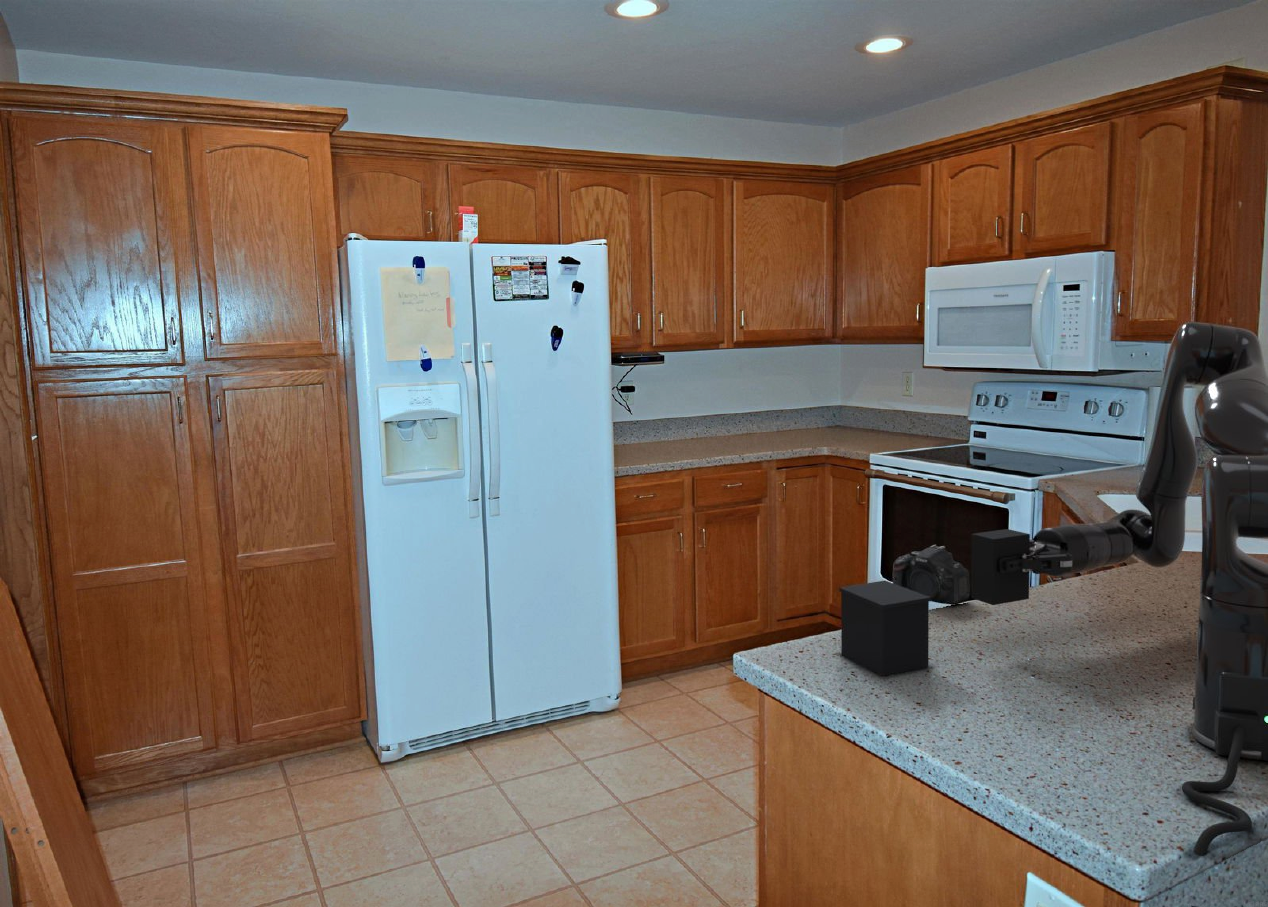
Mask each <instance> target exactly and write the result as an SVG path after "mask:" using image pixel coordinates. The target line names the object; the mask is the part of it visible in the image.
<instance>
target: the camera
mask: <svg viewBox="0 0 1268 907" xmlns="http://www.w3.org/2000/svg"><path fill="white" fill-rule="evenodd" d="M892 583H893V584H896V585H899V586H901V587H904V588H907V589H910V590H912V591H915V592H918V593H920V594H923V595H926V596H929V597H931V601H930V602H933V603H936V604H941V605H942V604H943V605H952V606H953V605H957V604H959V603H961V602H965V601H966V600H968V599H969V598H970V593H971V589H970V588H971V587H970V571H969V570H968V569H967V568H965V567H964V566H963V564H962V563H960V562H958V561H956V560H954V558H953V553H952V552H948V551H947V549H946V546H945V545H942V546H937V544H933V545H931V546H928V547H927V548H925V549H923V550H921V551H910V552H909V553H907V554H904V555H902V556H899V557H898V558H896V559H895V561H894V562H893V564H892Z"/></svg>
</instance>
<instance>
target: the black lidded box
mask: <svg viewBox="0 0 1268 907" xmlns="http://www.w3.org/2000/svg"><path fill="white" fill-rule="evenodd" d="M838 591H839V592H840V598H841V599H840V609H841V610H840V613H841V614H840V615H841V617H840V619H841V620H840V621H841V625H840V626H841V628H840V629H841V630H840V631H841V642H840V643H841V644H840V646H841V648H840V649H841V655H842V656H844V657H846V658H848V659H850V660H851V661H854V662H855V663H857V664H859V665H861V666H863V667H865V668H866V669H868V670H871V671H872V672H874V673H877V674H878V675H880V676H882V677H885V676H890V675H895V674H900V673H906V672H909V671H914V670H915V671H916V670H919V669H925V668H928V667H929V628H930V627H929V625H930V624H929V621H930V620H929V618H930V616H929V615H930V614H929V613H930V612H929V611H930V610H929V609H930V602H931V597H929V596H926V595H923V594H920V593H918V592H915V591H912V590H910V589H907V588H904V587H901V586H899V585H896V584H893V582H890V581H888V580H878V581H871V582H866V583H860V584H853V585H847V586H841V587H839V588H838Z"/></svg>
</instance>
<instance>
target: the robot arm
mask: <svg viewBox="0 0 1268 907" xmlns="http://www.w3.org/2000/svg"><path fill="white" fill-rule="evenodd" d="M1263 355H1264V354H1263V349H1262V344H1261V343H1260V340H1259V337H1258V336H1257V335H1256V333H1255V332H1253V331H1251V330H1249V329H1246V328H1241V327H1235V326H1230V325H1221V324H1215V323H1208V322H1201V321H1186V322H1184V323H1182V324H1181V325H1180V326H1179V327H1178V328H1177V330H1176V332H1175V333H1174V335H1173V338H1172V340H1171V343H1170V346H1169V348H1168V352H1167V355H1166V356H1167V357H1166V360H1165V365H1164V369H1163V373H1162V374H1163V375H1162V379H1161V385H1160V390H1159V394H1158V400H1157V404H1156V410H1155V417H1154V423H1153V429H1152V434H1151V439H1150V445H1149V448H1148V452H1147V454H1146V455H1147V456H1146V459H1145V462H1144V465H1143V468H1142V471H1141V473H1140V477H1139V480H1138V483H1137V486H1136V490H1135V496H1136V499H1137V500H1138V502H1139V503H1140V504H1141V506H1143V507H1144V508H1145V509H1146V510H1147V511H1148V512H1149V513H1147V512H1146V511H1143V510H1139V509H1125V510H1122V511H1121V512H1119V513H1117V514H1115V515H1114V516H1112V517H1110V518H1108V519H1106V520H1104V521H1100V522H1092V523H1074V524H1067V525H1060V526H1059V525H1058V526H1053V527H1045V528H1042V529H1040V530H1039V531H1037V532H1036V534H1035V535H1034V536H1033V538H1032V539H1030V550H1029V552H1028V553H1023V554H1020V556H1019V555H1013V556H1007V557H1000V558H998V560H997V571H998V572H1001V573H1006V572H1012V571H1019V570H1020V571H1022V572H1027V571H1029V572H1032V574H1034V575H1041V574H1045V575H1047V576H1050V577H1060V576H1068V575H1073V574H1078V573H1084V572H1085V573H1086V572H1090V571H1093V570H1096V569H1099V568H1105V567H1111V566H1117V565H1121V564H1123V563H1125V562H1127V561H1128V560H1129V559H1130V558H1131V557H1132V556H1133V557H1135V558H1137V559H1139V560H1140V561H1142V562H1143V563H1145V564H1146V565H1149V566H1150V567H1154V568H1164V567H1168V566H1170V565H1172V564H1173V563H1174V562H1175V561H1176V560H1177V559H1178V558H1179V556H1181V553H1182V551H1183V549H1184V546H1185V541H1186V540H1185V539H1186V511H1187V510H1186V503H1187V499H1188V496H1189V494H1190V490H1191V488H1192V485H1193V482H1194V479H1195V477H1196V473H1197V470H1198V464H1199V463H1198V462H1199V457H1198V449H1197V446H1196V444H1195V441H1194V437H1193V435H1192V432H1191V429H1190V427H1189V425H1188V422H1187V418H1186V414H1185V410H1184V395H1185V394H1184V392H1185V388H1186V386H1187V385H1190V386H1191V385H1192V386H1198V387H1203V389H1202V390H1201V391H1200V392H1199V394H1198V396H1197V397H1196V400H1195V404H1194V416H1195V420H1196V425H1197V429H1198V433H1199V435H1200V438H1201V440H1202V442H1203V443H1204V445H1206V446H1207V448H1208V449H1209V450H1210V451H1211V452H1213V454H1215V455H1213V456H1212V457H1210V458H1209V459H1208V460H1207V462H1206V463H1205V466H1204V469H1203V472H1202V479H1201V492H1200V493H1201V495H1200V498H1201V500H1200V502H1201V564H1200V565H1201V566H1200V584H1199V602H1198V603H1199V605H1198V619H1197V620H1198V622H1197V623H1198V624H1197V646H1196V664H1195V665H1196V667H1195V688H1194V696H1193V697H1192V710H1194V714H1193V723H1192V736H1193V737H1194V738H1195V740H1196V741H1197V742H1199V743H1201V744H1202V745H1204V746H1206V747H1208V748H1209V749H1212V750H1214V751H1215V753H1216V754H1217V755H1220V756H1225V757H1227V756H1228V759H1227V763H1226V767H1225V768H1226V769H1225V772H1224V775H1223V776H1222V777H1221V778H1220V779H1219V780H1216V781H1201V780H1200V781H1199V780H1187V781H1184V782H1183V783H1182V785H1181V791H1182V793H1183V794H1184V795H1185V796H1186V797H1187V798H1189V799H1190V800H1192V801H1193V802H1196V803H1198V804H1201V805H1204V806H1206V807H1210V808H1212V809H1215V810H1218V811H1220V812H1222V813H1225V814H1228V815H1230V816H1233V817H1235V818H1236V819H1238V820H1235V821H1233V820H1232V821H1224V822H1223V821H1222V822H1218V823H1215V824H1212V825H1210V826H1208V827H1207V828H1205V829H1204V830H1203V831H1202V832H1201V834H1200V835H1199V836H1198V838H1197V840H1196V843H1195V844H1194V848H1193V853H1194V855H1196V856H1200V857H1203V856H1206V855H1207V851H1208V849H1209V847H1210V845H1211V843H1212V842H1213V841H1214V840H1215V839H1216V838H1217V837H1219V836H1222V835H1225V834H1229V833H1239V832H1241V833H1242V832H1246V831H1247V832H1248V831H1249V830H1250V829H1251V828H1252V826H1253V821H1252V818H1251V817H1250V816H1249V814H1248V813H1247V812H1246V811H1245V810H1243V809H1242V808H1240V807H1238V806H1236V805H1235V804H1231V803H1229V802H1226V801H1223V800H1221V799H1219V798H1215V797H1212V796H1210V795H1207V794H1204V793H1201V792H1221V791H1225V790H1227V789H1228V788H1230V787H1231V786H1232V785H1233V783H1234V781H1235V779H1236V776H1237V772H1238V767H1239V762H1240V758H1242V759H1250V760H1258V761H1265V762H1268V563H1267V562H1265V561H1262V560H1260V559H1258V558H1255V557H1253V556H1252V555H1250V554H1248V553H1246V552H1245V551H1243V550H1242V549H1241V548H1240V547H1239V546H1238V545H1237V544H1238V543H1237V540H1238V538H1248V539H1267V540H1268V375H1267V371H1266V366H1265V361H1264V356H1263ZM1191 907H1197V906H1195V905H1191Z"/></svg>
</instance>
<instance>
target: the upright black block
mask: <svg viewBox="0 0 1268 907" xmlns="http://www.w3.org/2000/svg"><path fill="white" fill-rule="evenodd" d="M1030 540H1031V533H1027V532H1022V531H1017V530H1013V529H1008V528H1004V529H997V530H989V531H983V532H975V533H972V534H971V569H970V570H971V572H970V573H971V578H970V579H971V580H970V582H971V583H970V584H971V585H970V588H971V589H970V599H973V600H975V601H980V602H982V603H985V604H987V605H991V606H998V605H1003V604H1008V603H1013V602H1020V601H1026V600H1029V599H1030V571H1027V572H1022V571H1020V570H1019V571H1012V572H1006V573H1001V572H998V571H997V560H998V558H1000V557H1007V556H1013V555H1019V556H1020V554H1023V553H1028V552H1029V550H1030Z"/></svg>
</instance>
